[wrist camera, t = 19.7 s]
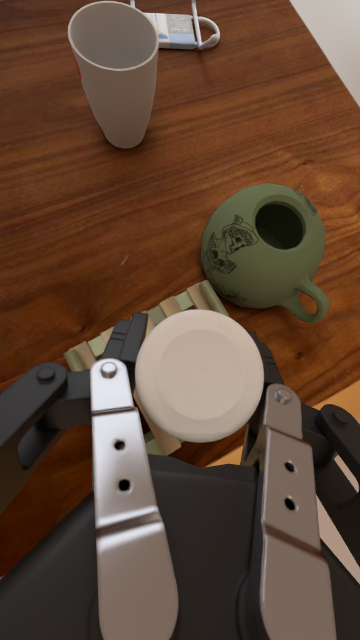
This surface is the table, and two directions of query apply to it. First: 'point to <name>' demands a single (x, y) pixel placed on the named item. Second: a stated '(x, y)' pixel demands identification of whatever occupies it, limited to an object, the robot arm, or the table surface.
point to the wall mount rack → (181, 30)
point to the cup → (116, 67)
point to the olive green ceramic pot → (266, 250)
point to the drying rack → (92, 351)
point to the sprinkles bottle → (199, 375)
